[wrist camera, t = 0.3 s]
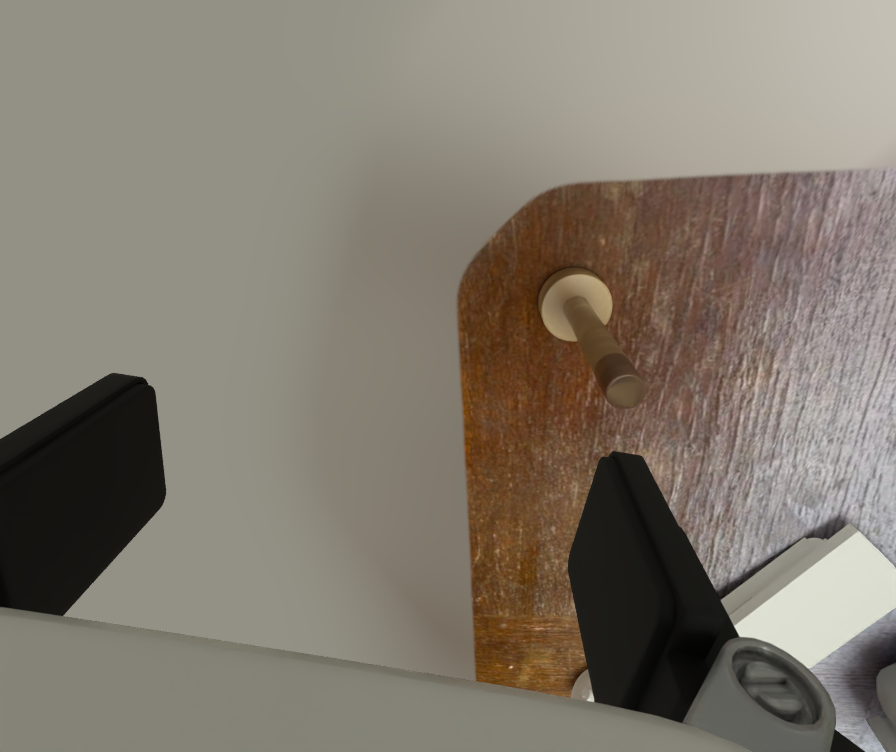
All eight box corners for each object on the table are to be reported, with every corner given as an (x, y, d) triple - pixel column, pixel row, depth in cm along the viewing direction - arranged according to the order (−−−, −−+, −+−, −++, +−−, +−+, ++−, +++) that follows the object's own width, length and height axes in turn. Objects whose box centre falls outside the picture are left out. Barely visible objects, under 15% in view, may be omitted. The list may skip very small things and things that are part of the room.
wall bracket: (791, 480, 44) (561, 668, 50) (841, 514, 37) (566, 729, 43) (877, 559, 44) (635, 738, 50) (943, 610, 37) (653, 811, 43)
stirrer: (577, 252, 32) (639, 319, 19) (619, 302, 33) (704, 395, 20) (524, 298, 34) (549, 388, 21) (566, 344, 35) (614, 456, 22)
